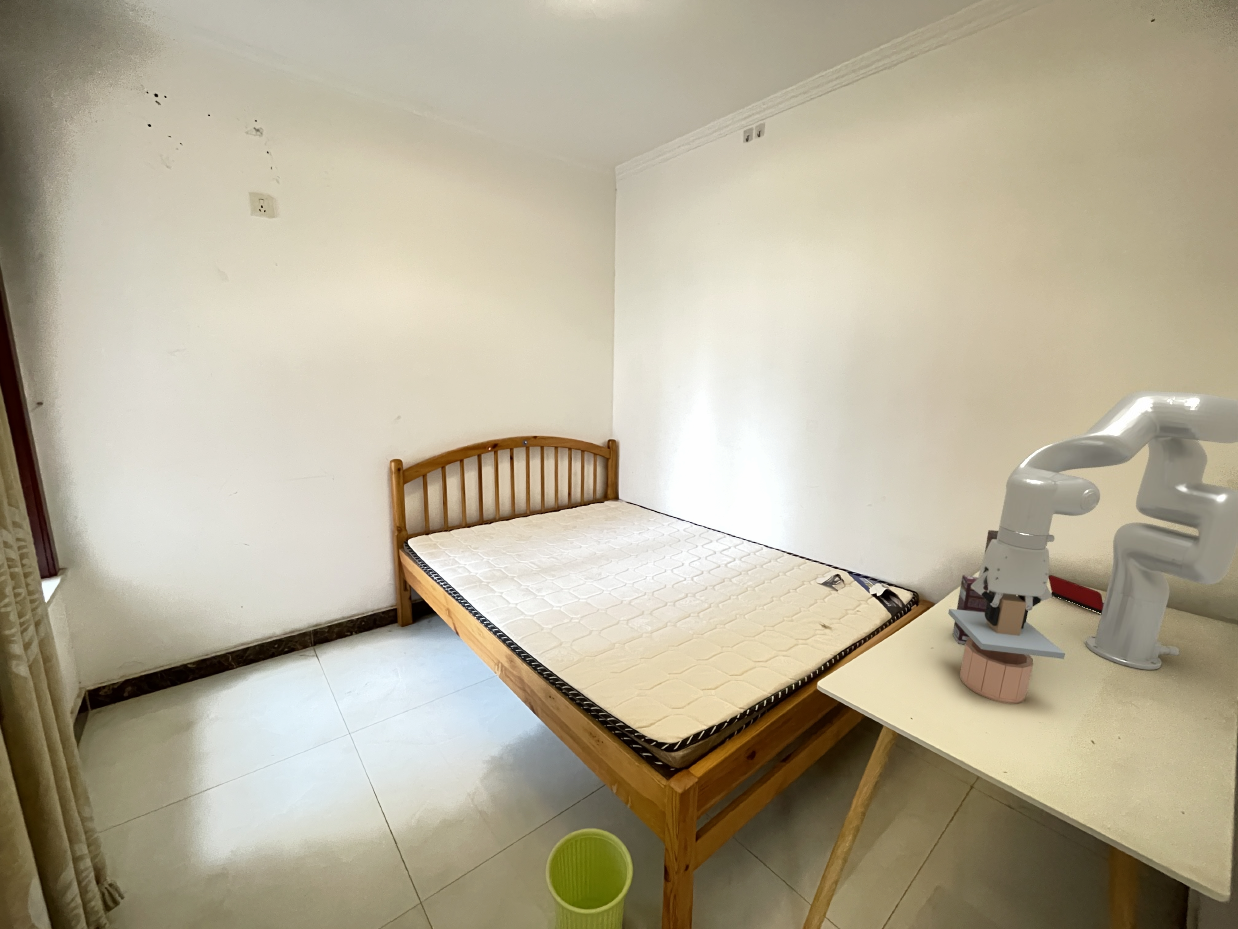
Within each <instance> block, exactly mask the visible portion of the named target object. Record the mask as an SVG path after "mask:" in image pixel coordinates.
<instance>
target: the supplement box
mask: <svg viewBox="0 0 1238 929" xmlns="http://www.w3.org/2000/svg"><path fill="white" fill-rule="evenodd" d="M977 579H978V576H972V575H965V574H963V575H962V578H961V583H960V588H959V595H958V600H957V606H956V610H966V611H975V612H984V613H985V610H986V605H987V601H986V600H985V599H984V598H983V597H982V596H981V595H980V594H979V593H978V592H976V591H975V590H974V589H972V588H971V585H972V584H973V583H974V582H975V581H976V580H977ZM983 589H984V590H986V591H988V585H985V586H984V587H983ZM952 636H954V637H953V638H955V640H956V642H957V643H958V644H960V645H964V646H965V645H966V641H967V639H968V638H970V637H969V636H968V634H967V633H966V632H965V631H964V630H963V629H962V628H961V627H960V626H959V625H958V624H957V623H956V622H955V621H954V623H953V630H952Z"/></svg>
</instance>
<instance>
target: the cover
mask: <svg viewBox="0 0 1238 929" xmlns="http://www.w3.org/2000/svg"><path fill="white" fill-rule="evenodd" d="M1026 604H1027V603H1026V602H1024V601H1023V600H1022V599H1020V598H1019V597H1018V595H1011V594H1003V596H1002V598H1001V600H1000V602H999V604H998V607H999V608H1000V613H999V618H998V623H997V625H996V626H993V625H992V624H990V623H989V622H988V621H987V620H986V618H985V613H984V612H975V611H966V610H957V608H956V609H955V608H948V613H947V614H948V616H950V617H951V619H953V621H954V623H955V622H956V623H957V624H958V625H959V626H960V627H961V628H962V629H963V630H964V631H965V632H966V633H967V634H968V636H969V637H970V638H971V639H972V640H973V641H974V642H975V643H976V644H977V645H978V646H979V647H980V648H981V649H984V650H992V651H1000V652H1009V653H1017V654H1026V655H1030V656H1036V657H1044V658H1045V657H1046V658H1051V659H1053V658H1054V659H1061V660H1065V655H1066V653H1065V652H1064V651H1063V650H1062V649H1061V648H1060V647H1058V646H1057V645H1056V644H1054V643H1053V642H1052V641H1051V640H1050V639H1048V638H1047V637H1046V636H1045V635H1044V634H1043V633H1041V631H1039V630H1038V629H1036V628H1035V627H1034V626H1033V625H1032V624H1030V623H1029V622H1028V621H1027V620H1026V623H1024V628H1023V629H1021V627H1022V622H1023V618H1024V613H1025V608H1026Z"/></svg>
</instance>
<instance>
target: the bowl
mask: <svg viewBox="0 0 1238 929" xmlns="http://www.w3.org/2000/svg"><path fill="white" fill-rule="evenodd" d="M964 646H965V647H964V650H963V656H962V661H961V667H960V672H959V678H960V680H961V682H962V684H963V685H964V686H966V687H967V688H968V689H969V690H971V691H972V692H975V694H977V695H979V696H982V697H983V698H985V699H989V700H991V701H995V702H998V703H1002V704H1010V705H1011V704H1020V703H1023V702H1024V701H1025V700H1026V698H1027V694H1028V689H1029V686H1030V680H1031V676H1032V672H1033V671H1032V670H1033V666H1034V658H1033V657H1032V655H1026V654H1017V653H1009V652H1000V651H992V650H984V649H981V648H980V647H979V646H978V645H977V644H976V643H975V642H974V641H973V640H972V639H971V638H968V639H967V641H966V645H965V644H964Z"/></svg>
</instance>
